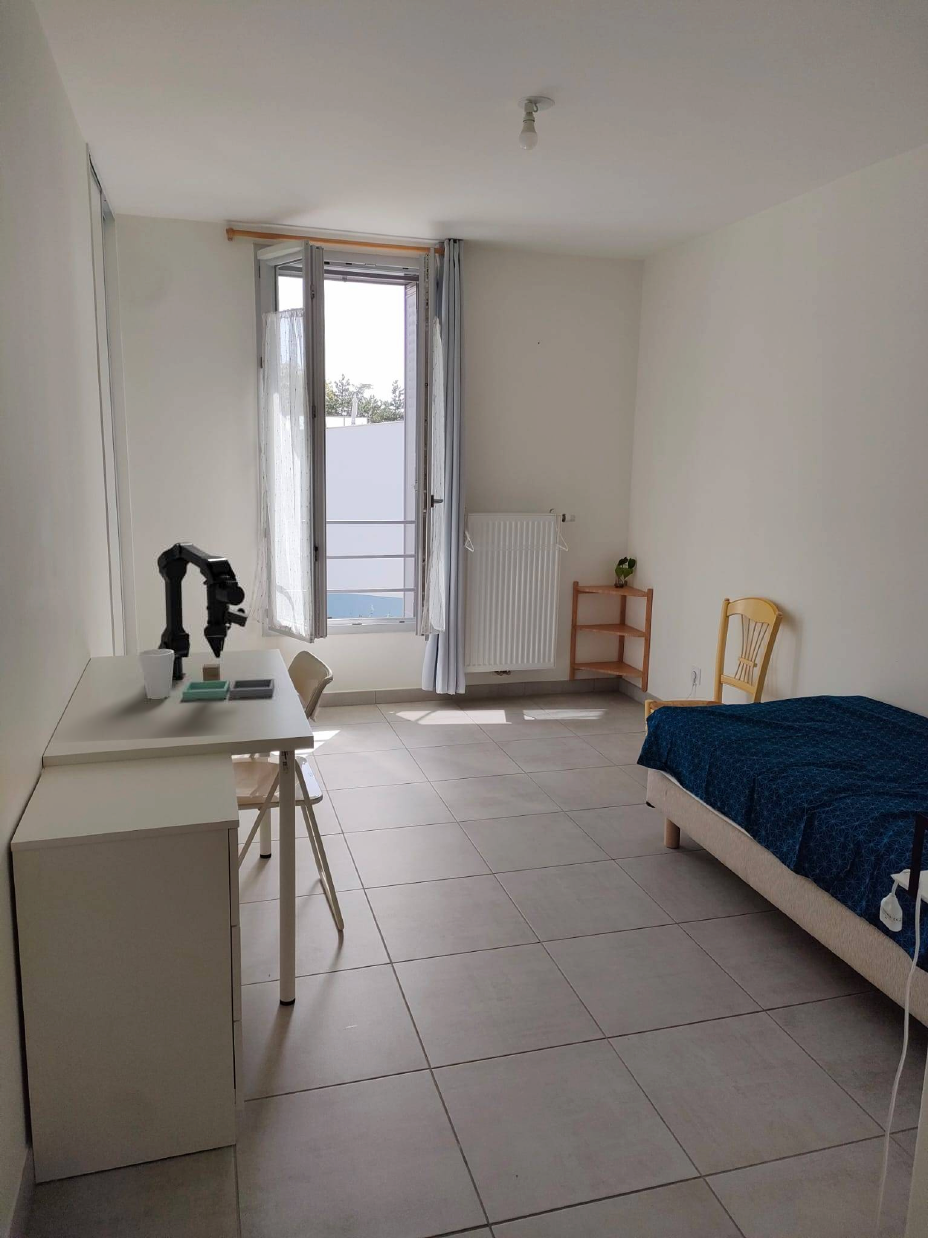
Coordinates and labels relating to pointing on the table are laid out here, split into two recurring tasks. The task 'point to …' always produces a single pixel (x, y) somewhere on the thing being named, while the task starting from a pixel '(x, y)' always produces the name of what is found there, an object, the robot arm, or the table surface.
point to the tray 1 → (206, 690)
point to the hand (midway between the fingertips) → (219, 654)
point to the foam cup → (157, 672)
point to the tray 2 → (252, 688)
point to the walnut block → (211, 672)
